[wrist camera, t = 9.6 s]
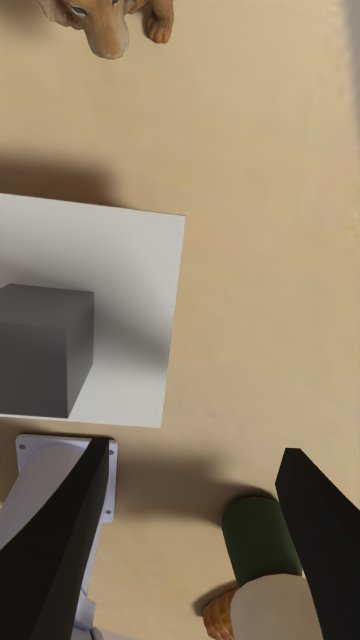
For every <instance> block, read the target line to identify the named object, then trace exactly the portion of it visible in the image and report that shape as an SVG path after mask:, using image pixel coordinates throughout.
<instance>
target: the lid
mask: <svg viewBox="0 0 360 640" xmlns="http://www.w3.org/2000/svg"><path fill="white" fill-rule="evenodd" d="M185 217H186V216H185V215H178V214H170V213H162V212H154V211H146V210H138V209H130V208H122V207H113V206H105V205H97V204H89V203H81V202H73V201H65V200H57V199H49V198H41V197H32V196H24V195H16V194H8V193H0V417H14V418H28V419H43V420H57V421H71V422H85V423H100V424H114V425H128V426H142V427H156V428H161V420H162V411H163V403H164V394H165V386H166V378H167V369H168V361H169V352H170V344H171V335H172V327H173V319H174V310H175V302H176V293H177V285H178V276H179V268H180V259H181V251H182V243H183V234H184V226H185Z"/></svg>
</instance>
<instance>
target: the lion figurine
mask: <svg viewBox="0 0 360 640" xmlns="http://www.w3.org/2000/svg"><path fill="white" fill-rule="evenodd" d="M148 1H149V0H38V2H39V3H40V5H41V6H42V8H43V11H44V13H45V15H46V16H47V17H48V19H49V20H50V21H54V22H56V23H58V24H60V25H62V26H65V27H69V26H71V27H73V28H74V29H76V30H81V29H83V30H84V31H85V34H86V36H87V40H88V43H89V46H90V48H91V50H92V52H93V53H94V54H95V55H96V56H98V57H101V58H106V59H117V58H120V57H121V56H122V55H123V54H124V52H125V51H126V50H127V49H128V46H129V33H128V29H127V26H126V23H125V20H124V15H125V14H127V13H128V14H134V13H135V12H136V10H137V9H139V8H140V7H142V6H143V5H145V4H146V3H147V2H148ZM150 2H151V4H152V14H151V15H150V17H149V19H148V22H147V28H148V30H149V36H150V38H151V39H153V40H155V42H156V43H167V42H168V40H169V38H170V35H171V31H172V26H173V21H174V13H173V0H150Z"/></svg>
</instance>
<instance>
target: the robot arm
mask: <svg viewBox="0 0 360 640" xmlns="http://www.w3.org/2000/svg"><path fill="white" fill-rule="evenodd" d="M15 442H16V452H17V462H18V471H19V476H18V478H17V480H16V481H15V483H14V485H13V487H12V489H11V491H10V492H9V494H8V496H7V498H6V500H5V502H4V504H3V505H2V507H1V509H0V640H104V638H103V636H102V634H101V632H100V631H99V630H98V629H97V628H96V627H93V620H94V614H95V609H96V603H95V602H93V601H91V600H90V599H88V598H87V594H88V589H89V584H90V579H91V574H92V569H93V565H94V560H95V555H96V550H97V545H98V540H99V535H100V531H101V526H102V523H111V522H112V521H113V519H114V507H115V489H116V470H117V452H118V443H117V442H116V441H114V440H109V438H93V439H90V438H75V437H60V436H45V435H30V434H20V435H18V437H17V438H16V441H15ZM23 445H24V446H23ZM109 450H112V451H109ZM275 486H276V490H277V495H278V499H279V503H280V507H281V511H282V514H283V516H284V519H285V522H286V525H287V527H288V530H289V533H290V536H291V538H292V541H293V544H294V546H295V549H296V552H297V555H298V557H299V560H300V563H301V565H302V568H303V571H304V573H305V576H306V579H307V582H308V585H309V588H310V592H311V595H312V599H313V603H314V606H315V610H316V613H317V617H318V620H319V624H320V628H321V632H322V636H323V640H360V510H359V509H358V508H357V507H356V506H355V505H354V504H353V503H352V502H351V501H350V500H349V499H347V498H346V497H345V496H344V494H343V493H342V492H341V491H340V490H339V489H338V488H337V487H336V486H335V485H334V484H333V483H332V482H331V481H330V480H329V479H328V478H327V477H326V476H325V475H324V474H323V473H322V471H321V470H320V469H319V468H318V467H317V466H316V465H315V464H314V463H313V462H312V461H311V460H310V459H309V457H308V456H307V455H306V454H305V453H304V452H303V451H302V450H301V449H300V448H285V451H284V455H283V458H282V462H281V465H280V468H279V472H278V475H277V478H276V482H275Z"/></svg>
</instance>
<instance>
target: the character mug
mask: <svg viewBox="0 0 360 640" xmlns="http://www.w3.org/2000/svg"><path fill="white" fill-rule="evenodd" d="M222 531H223V535H224V539H225V543H226V547H227V551H228V554H229V557H230V561H231V564H232V567H233V571H234V574H235V577H236V581H237V584H238V585H239V587H240V589H239V590H238V591H236V592H235V594H234V597H233V599H232V601H231V608H230V615H231V622H232V628H233V635H234V640H323V636H322V632H321V628H320V624H319V620H318V617H317V613H316V610H315V606H314V603H313V599H312V595H311V592H310V588H309V585H308V582H307V579H305V578H303V577H302V566H301V563H300V560H299V557H298V555H297V552H296V549H295V546H294V544H293V541H292V538H291V536H290V533H289V530H288V527H287V525H286V522H285V519H284V516H283V514H282V511H281V507H280V503H278V502H276V501H274V500H272V499H267V498H261V497H250V498H244V499H239V500H238V501H236V502H235V503H233V504H231V505H230V506H228V507H227V509H226V511H225V513H224V515H223V517H222Z"/></svg>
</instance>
